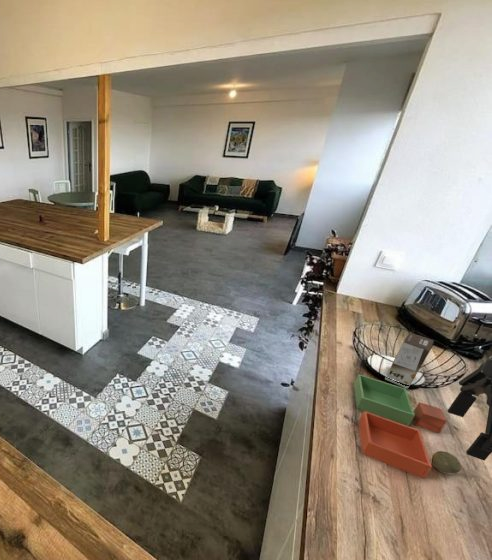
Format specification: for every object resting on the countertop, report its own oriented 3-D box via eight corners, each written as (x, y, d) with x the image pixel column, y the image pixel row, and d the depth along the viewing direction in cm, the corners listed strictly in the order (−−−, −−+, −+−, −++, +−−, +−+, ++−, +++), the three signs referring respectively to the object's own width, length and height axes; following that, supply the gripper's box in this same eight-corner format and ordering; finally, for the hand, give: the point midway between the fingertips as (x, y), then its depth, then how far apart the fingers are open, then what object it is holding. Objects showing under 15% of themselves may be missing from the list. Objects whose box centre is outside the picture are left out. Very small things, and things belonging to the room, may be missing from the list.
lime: (459, 476, 77) (469, 464, 75) (439, 476, 77) (449, 463, 75) (441, 459, 81) (451, 447, 79) (423, 459, 81) (432, 446, 79)
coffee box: (408, 390, 103) (430, 351, 96) (384, 379, 108) (403, 342, 101) (413, 377, 109) (434, 340, 102) (390, 367, 113) (409, 331, 106)
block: (434, 421, 92) (442, 409, 90) (438, 433, 88) (447, 421, 86) (411, 413, 95) (419, 401, 92) (415, 425, 91) (423, 413, 89)
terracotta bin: (412, 441, 86) (419, 430, 84) (423, 478, 77) (432, 467, 75) (358, 421, 92) (363, 410, 90) (362, 453, 83) (368, 442, 81)
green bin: (400, 399, 100) (406, 388, 98) (408, 426, 91) (415, 415, 89) (353, 384, 106) (358, 374, 104) (356, 408, 97) (361, 397, 95)
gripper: (469, 330, 76) (429, 393, 85) (519, 395, 57) (460, 468, 66) (515, 340, 72) (467, 405, 82) (583, 414, 53) (511, 487, 63)
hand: (464, 433), depth 74 cm, fingers open, 13 cm apart
